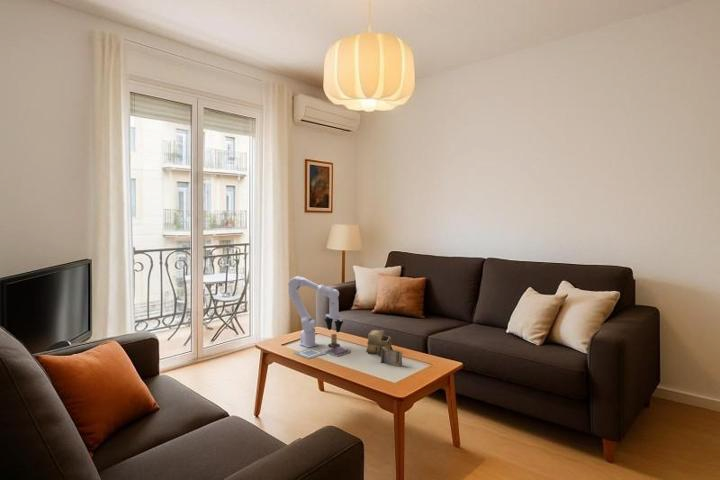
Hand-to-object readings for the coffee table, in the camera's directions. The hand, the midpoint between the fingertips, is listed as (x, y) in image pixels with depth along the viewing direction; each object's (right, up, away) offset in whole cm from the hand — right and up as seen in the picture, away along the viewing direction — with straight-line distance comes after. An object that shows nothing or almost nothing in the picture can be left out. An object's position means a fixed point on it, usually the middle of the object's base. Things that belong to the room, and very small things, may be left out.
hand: (333, 330), depth 261 cm
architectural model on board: (+33, -12, -30) cm, 46 cm away
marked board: (-13, -11, -13) cm, 21 cm away
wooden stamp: (0, -10, +1) cm, 10 cm away
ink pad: (+3, -11, -11) cm, 15 cm away
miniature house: (+28, -11, -10) cm, 31 cm away
